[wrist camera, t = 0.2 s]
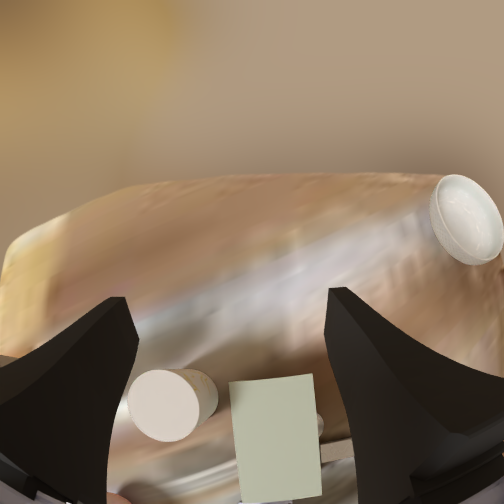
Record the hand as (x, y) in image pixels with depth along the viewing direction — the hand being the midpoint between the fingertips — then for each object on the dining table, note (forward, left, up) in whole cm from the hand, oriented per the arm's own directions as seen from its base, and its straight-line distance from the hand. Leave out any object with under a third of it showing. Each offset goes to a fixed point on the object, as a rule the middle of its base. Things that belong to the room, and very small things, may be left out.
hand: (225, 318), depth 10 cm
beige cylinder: (-6, +10, -32) cm, 34 cm away
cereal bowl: (+15, -39, -32) cm, 53 cm away
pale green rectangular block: (-12, -2, -31) cm, 34 cm away
